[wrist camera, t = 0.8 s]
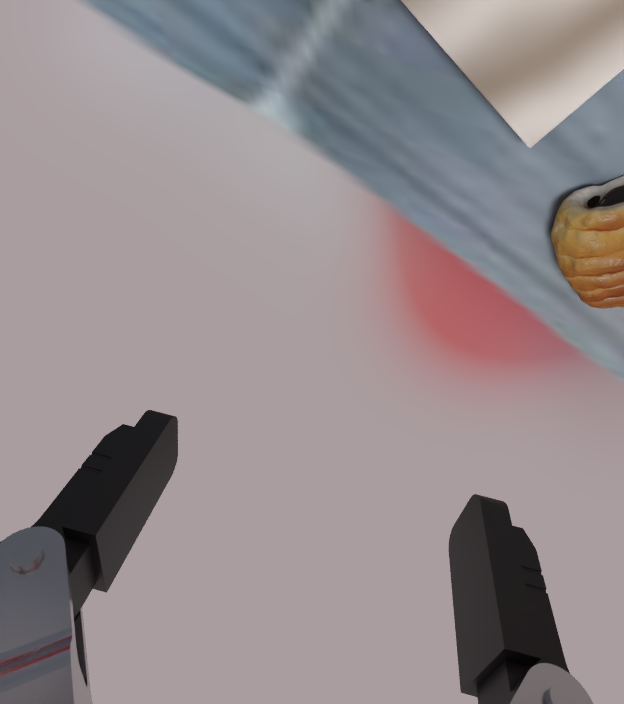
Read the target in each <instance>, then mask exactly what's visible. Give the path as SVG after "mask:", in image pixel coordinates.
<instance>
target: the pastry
mask: <svg viewBox="0 0 624 704" xmlns="http://www.w3.org/2000/svg"><path fill="white" fill-rule="evenodd" d="M551 240H552V243H553V245H554V248H555V253H556V256H557V263H558V266H559V268H560V269H561V270H562V272H563V274H564V276H565V278H566V279H567V280H568V281H569V283H570V285H571V287H572V288H574V290H575V291H576V292H577V294H578V295H579V297H580V299H581V300H582V301H583V302H584V303H586V304H588V305H589V306H591V307H596V308H612V307H624V175H623V176H622V177H619V178H617V179H614V180H612V181H610V182H608V183H606V184H604V185H602V186H589V187H586V188H582V189H580V190H576V191H574V192H573V193H572V194H570V195H569V196H568V197H567V198H566V199H565V200H564V201H563V202H562V204H561V206H560V208H559V210H558V212H557V214H556V218H555V221H554V224H553V228H552V231H551Z"/></svg>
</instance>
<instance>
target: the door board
mask: <svg viewBox="0 0 624 704" xmlns="http://www.w3.org/2000/svg"><path fill="white" fill-rule="evenodd" d="M401 1H402V2H403V3H404V5H405V6H406V7H407V8H408V9H409V10H410V12H411V13H412V14H413V15H414V16H415V17H416V18H417V20H418V21H419V22H420V23H421V24H422V25H423V26H424V28H425V29H426V30H427V31H428V32H429V33H430V34H431V36H432V37H433V38H434V39H435V40H436V41H437V43H438V44H439V45H440V46H441V47H442V48H443V49H444V51H445V52H446V53H447V54H448V55H449V56H450V57H451V59H452V60H453V61H454V62H455V63H456V64H457V65H458V67H459V68H460V69H461V70H462V71H463V72H464V74H465V75H466V76H467V77H468V78H469V79H470V80H471V82H472V83H473V84H474V85H475V86H476V87H477V88H478V90H479V91H480V92H481V93H482V94H483V95H484V96H485V98H486V99H487V100H488V101H489V102H490V103H491V105H492V106H493V107H494V108H495V109H496V110H497V111H498V113H499V114H500V115H501V116H502V117H503V118H504V119H505V121H506V122H507V123H508V124H509V125H510V126H511V127H512V129H513V130H514V131H515V132H516V133H517V134H518V136H519V137H520V138H521V139H522V140H523V141H524V142H525V144H526V145H527V146H528V147H529V148H531V147H532V146H533V145H534V144H536V143H537V142H538V141H539V140H540V139H541V138H543V137H544V136H545V135H546V134H547V133H549V132H550V131H551V130H552V129H553V128H554V127H556V126H557V125H558V124H559V123H560V122H561V121H563V120H564V119H565V118H566V117H567V116H569V115H570V114H571V113H572V112H573V111H574V110H576V109H577V108H578V107H579V106H580V105H582V104H583V103H584V102H585V101H586V100H587V99H589V98H590V97H591V96H592V95H593V94H595V93H596V92H597V91H598V90H599V89H600V88H602V87H603V86H604V85H605V84H606V83H608V82H609V81H610V80H611V79H612V78H613V77H615V76H616V75H617V74H618V73H619V72H621V71H622V70H623V69H624V0H401Z"/></svg>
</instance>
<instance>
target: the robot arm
mask: <svg viewBox="0 0 624 704" xmlns="http://www.w3.org/2000/svg"><path fill="white" fill-rule="evenodd" d="M177 457H178V421H177V417H175V416H171V415H167V414H163V413H160V412H156V411H152V410H148V411H146V412H145V413H144V415H143V416H142V417H141V419H140V420H139V421H138V423H137V424H136V426H135V427H132V426H128V425H124V424H123V425H121V426H120V427H118V428H117V429H115V430H114V431H112V432H110V433H109V434H108V435H106V436H105V437H104V438H103V439H102V440H101V442H100V443H99V444H98V445H97V447H96V448H95V449H94V450H93V452H92V455H90V456H89V457H88V458H87V459H86V461H85V462H84V463H83V464H82V467H81V469H78V471H77V472H76V473H75V474H74V476H73V477H72V478H71V480H70V481H69V482H68V483H67V485H66V486H65V487H64V488H63V490H62V491H61V492H60V494H59V495H58V496H57V497H56V499H55V500H54V501H53V502H52V504H51V505H50V506H49V508H48V509H47V510H46V511H45V512H44V514H43V515H42V516H41V518H40V519H39V520H38V521H37V522H36V523H35V524H34V525H33V526H31V527H30V528H26V529H23V530H20V531H18V532H16V533H13V534H12V535H10V536H9V537H7V538H6V539H4V540H3V541H1V542H0V704H92V699H91V691H90V683H89V674H88V663H87V653H86V644H85V633H84V623H83V613H82V606H83V604H84V602H85V600H86V599H87V597H88V595H89V594H90V592H91V590H92V589H96V590H100V591H104V592H107V591H108V589H109V587H110V586H111V584H112V582H113V580H114V578H115V577H116V575H117V573H118V571H119V569H120V568H121V566H122V564H123V562H124V560H125V559H126V557H127V555H128V553H129V551H130V550H131V548H132V546H133V544H134V543H135V541H136V538H137V537H138V535H139V534H140V532H141V530H142V528H143V526H144V525H145V523H146V521H147V519H148V517H149V516H150V514H151V512H152V510H153V508H154V507H155V505H156V503H157V501H158V499H159V498H160V496H161V494H162V492H163V490H164V488H165V487H166V485H167V483H168V481H169V480H170V478H171V476H172V474H173V471H174V469H175V465H176V462H177ZM449 558H450V571H451V582H452V594H453V606H454V616H455V629H456V639H457V652H458V664H459V676H460V687H461V692H462V693H465V694H468V695H472V696H476V697H478V704H593V702H592V700H591V698H590V697H589V695H588V694H587V692H586V691H585V689H584V688H583V687H582V685H581V684H580V683H579V682H578V681H577V680H576V679H575V678H574V677H573V676H572V675H571V674H570V673H569V670H568V668H567V665H566V662H565V658H564V654H563V651H562V647H561V643H560V639H559V636H558V632H557V628H556V624H555V620H554V616H553V613H552V609H551V605H550V601H549V597H548V594H547V593H546V586H545V582H544V578H543V576H542V575H541V567H540V563H539V559H538V555H537V551H536V549H535V547H534V546H533V544H532V542H531V541H530V539H529V537H528V536H527V534H526V533H525V531H524V530H523V528H519V527H515V526H512V523H511V519H510V514H509V510H508V506H507V504H506V503H505V502H503V501H499V500H496V499H492V498H488V497H484V496H480V495H476V494H474V495H473V496H472V497H471V498H470V500H469V502H468V503H467V505H466V506H465V508H464V510H463V512H462V513H461V515H460V516H459V518H458V520H457V521H456V523H455V524H454V526H453V528H452V531H451V534H450V539H449Z"/></svg>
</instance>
